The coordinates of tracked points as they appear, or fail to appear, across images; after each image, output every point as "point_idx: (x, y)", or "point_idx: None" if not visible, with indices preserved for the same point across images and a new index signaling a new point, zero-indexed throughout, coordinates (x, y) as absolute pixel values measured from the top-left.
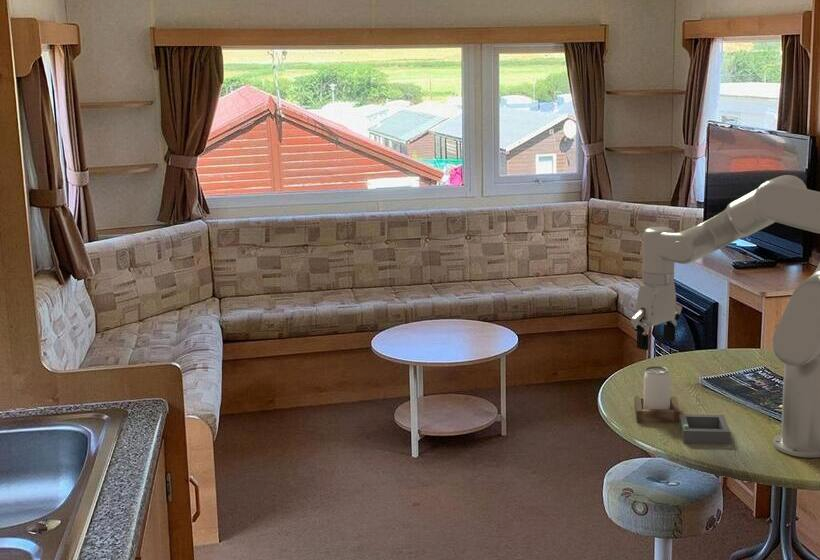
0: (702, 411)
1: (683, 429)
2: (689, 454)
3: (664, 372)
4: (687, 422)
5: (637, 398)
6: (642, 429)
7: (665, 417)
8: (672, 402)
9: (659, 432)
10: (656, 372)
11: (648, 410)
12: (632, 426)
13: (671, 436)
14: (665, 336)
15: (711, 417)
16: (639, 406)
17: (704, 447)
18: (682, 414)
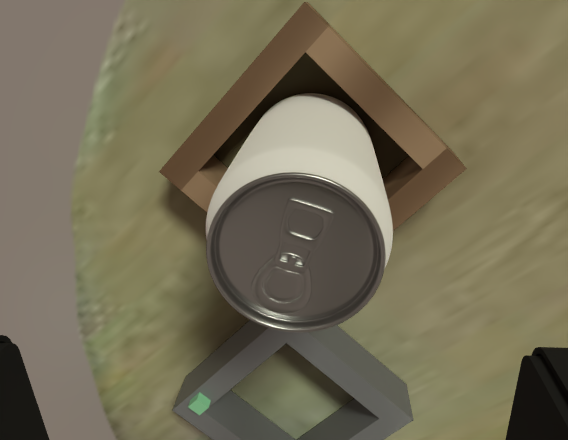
0: (495, 252)
1: (181, 403)
2: (140, 428)
3: (311, 304)
4: (243, 378)
5: (287, 45)
6: (148, 218)
7: None
8: None
9: (182, 276)
10: (269, 266)
11: (209, 202)
12: (134, 172)
13: (192, 323)
14: (539, 422)
15: (360, 400)
16: (211, 137)
17: None
18: None
